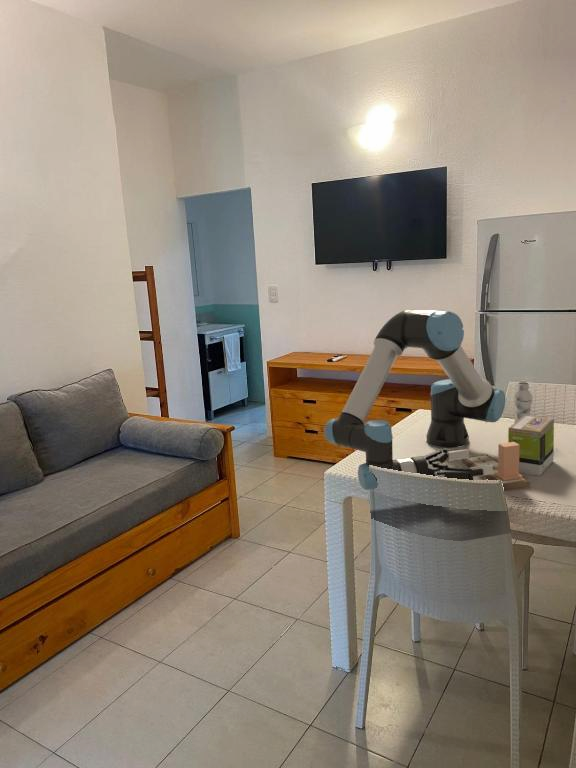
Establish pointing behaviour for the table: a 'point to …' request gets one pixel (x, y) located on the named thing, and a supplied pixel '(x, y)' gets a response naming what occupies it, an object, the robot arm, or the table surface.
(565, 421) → the table surface
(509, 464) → the tan upright block
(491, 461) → the board
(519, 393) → the plastic bottle
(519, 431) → the tea box
